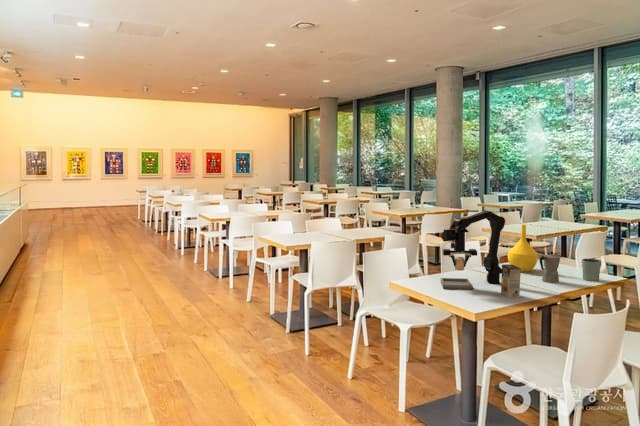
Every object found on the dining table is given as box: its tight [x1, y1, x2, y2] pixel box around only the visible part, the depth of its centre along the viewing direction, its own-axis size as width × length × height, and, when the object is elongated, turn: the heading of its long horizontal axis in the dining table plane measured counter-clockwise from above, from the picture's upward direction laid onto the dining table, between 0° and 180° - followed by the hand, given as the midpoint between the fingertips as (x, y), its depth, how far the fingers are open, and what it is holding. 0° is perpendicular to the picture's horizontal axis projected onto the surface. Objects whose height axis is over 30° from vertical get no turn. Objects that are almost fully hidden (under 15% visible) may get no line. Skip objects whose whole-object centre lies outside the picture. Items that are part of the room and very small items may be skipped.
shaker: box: [454, 256, 465, 271], centre depth 284 cm, size 5×5×7 cm
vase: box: [507, 224, 539, 273], centre depth 322 cm, size 18×18×30 cm
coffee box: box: [500, 263, 522, 299], centre depth 264 cm, size 9×6×16 cm
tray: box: [440, 277, 473, 291], centre depth 286 cm, size 16×16×2 cm
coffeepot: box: [538, 250, 562, 284], centre depth 293 cm, size 15×9×18 cm, turn 110°
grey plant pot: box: [581, 258, 602, 282], centre depth 296 cm, size 10×10×12 cm
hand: (459, 266), depth 285 cm, fingers closed on shaker, 5 cm apart
